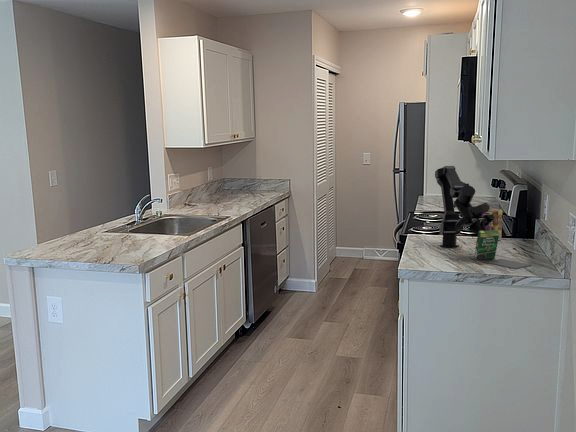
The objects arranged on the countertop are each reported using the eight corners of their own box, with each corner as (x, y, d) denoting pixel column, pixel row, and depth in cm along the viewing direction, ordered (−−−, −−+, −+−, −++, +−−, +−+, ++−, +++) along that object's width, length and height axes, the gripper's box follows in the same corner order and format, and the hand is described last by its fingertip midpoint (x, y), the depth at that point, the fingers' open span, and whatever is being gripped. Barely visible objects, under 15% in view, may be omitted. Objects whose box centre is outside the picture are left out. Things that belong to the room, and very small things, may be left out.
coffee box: (475, 260, 226) (480, 233, 219) (473, 255, 228) (478, 230, 221) (494, 259, 225) (500, 233, 219) (492, 255, 228) (498, 229, 221)
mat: (485, 262, 220) (485, 261, 220) (501, 259, 225) (501, 258, 225) (515, 269, 208) (515, 268, 208) (531, 265, 213) (531, 264, 213)
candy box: (501, 240, 268) (503, 209, 266) (497, 241, 265) (498, 210, 263) (485, 237, 275) (486, 208, 273) (480, 238, 272) (481, 209, 270)
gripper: (461, 198, 222) (482, 228, 214) (491, 195, 232) (513, 223, 224) (446, 215, 230) (466, 244, 222) (476, 211, 240) (496, 239, 232)
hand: (486, 237), depth 225 cm, fingers closed
